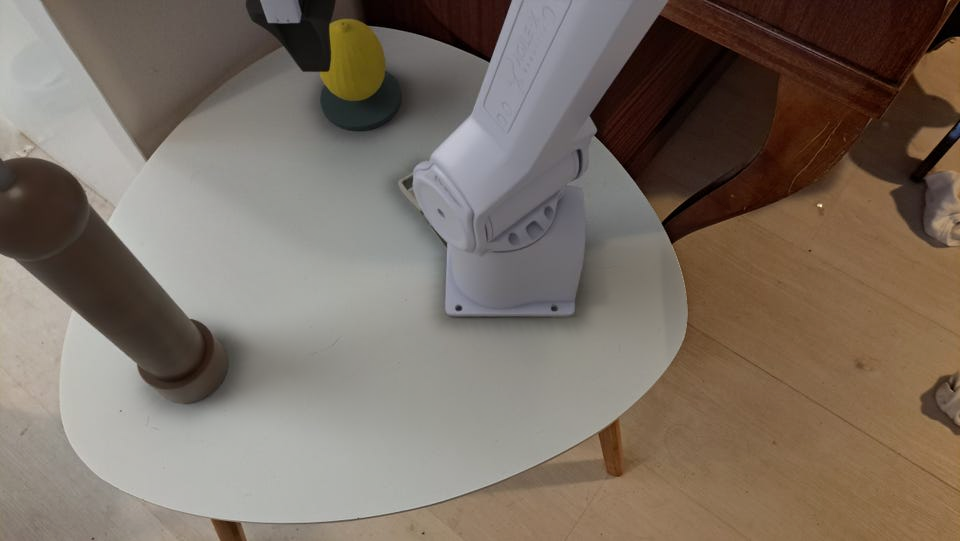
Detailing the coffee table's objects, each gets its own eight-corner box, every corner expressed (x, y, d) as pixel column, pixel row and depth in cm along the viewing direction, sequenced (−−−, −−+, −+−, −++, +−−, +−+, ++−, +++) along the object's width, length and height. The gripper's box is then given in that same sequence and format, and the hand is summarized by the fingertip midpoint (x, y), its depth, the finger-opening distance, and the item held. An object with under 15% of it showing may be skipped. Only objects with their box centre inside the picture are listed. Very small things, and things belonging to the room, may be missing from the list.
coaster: (403, 69, 65) (402, 65, 65) (398, 131, 62) (398, 126, 61) (325, 70, 65) (324, 65, 65) (316, 131, 62) (315, 126, 61)
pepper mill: (234, 335, 53) (63, 115, 32) (221, 403, 50) (26, 215, 29) (163, 334, 53) (-55, 116, 32) (147, 403, 50) (-101, 215, 29)
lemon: (381, 124, 61) (367, 54, 54) (318, 114, 62) (296, 44, 55) (397, 76, 64) (386, 3, 57) (337, 67, 64) (319, -6, 57)
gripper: (229, -216, 46) (283, -35, 58) (180, -68, 39) (253, 104, 51) (339, -217, 46) (371, -35, 58) (310, -68, 39) (353, 104, 51)
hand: (322, 30), depth 54 cm, fingers open, 7 cm apart
